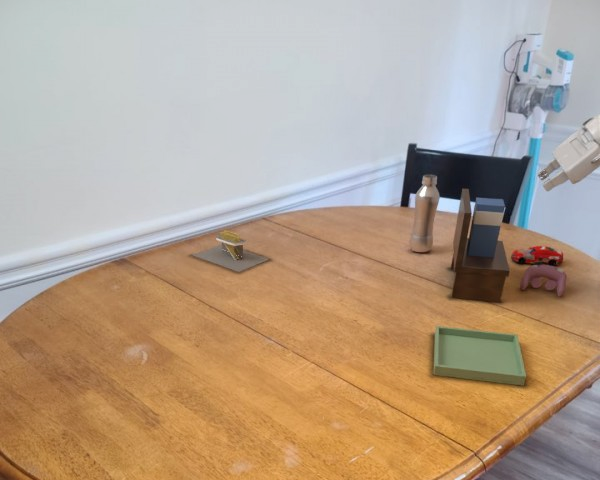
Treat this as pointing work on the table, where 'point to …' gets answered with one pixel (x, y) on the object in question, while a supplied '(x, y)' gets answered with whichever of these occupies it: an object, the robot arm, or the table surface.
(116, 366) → the table surface
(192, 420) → the table surface
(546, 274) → the video game controller
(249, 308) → the table surface
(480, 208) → the box
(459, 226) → the wooden toy chair
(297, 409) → the table surface
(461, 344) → the tray
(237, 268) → the platform
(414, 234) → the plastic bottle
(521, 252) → the race car
